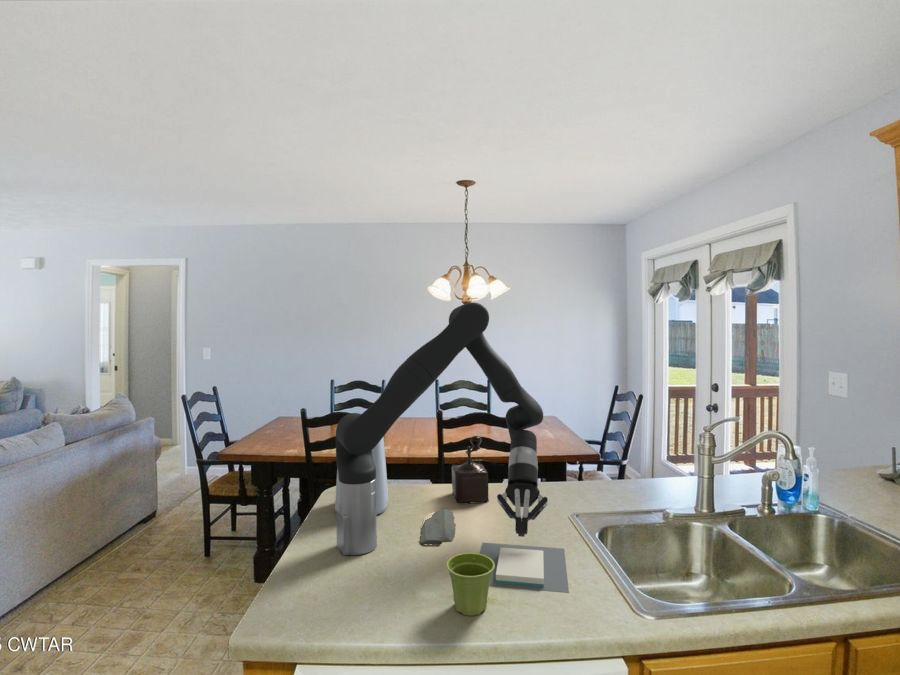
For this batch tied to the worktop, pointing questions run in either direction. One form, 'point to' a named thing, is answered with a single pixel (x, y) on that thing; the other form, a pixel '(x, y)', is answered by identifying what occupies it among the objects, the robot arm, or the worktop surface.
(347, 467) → the robot arm
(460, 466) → the brown coffee grinder
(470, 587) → the plant pot
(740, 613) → the worktop surface
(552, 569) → the rubber mat
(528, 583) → the glazed tile
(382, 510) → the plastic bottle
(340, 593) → the worktop surface
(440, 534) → the stone slab
